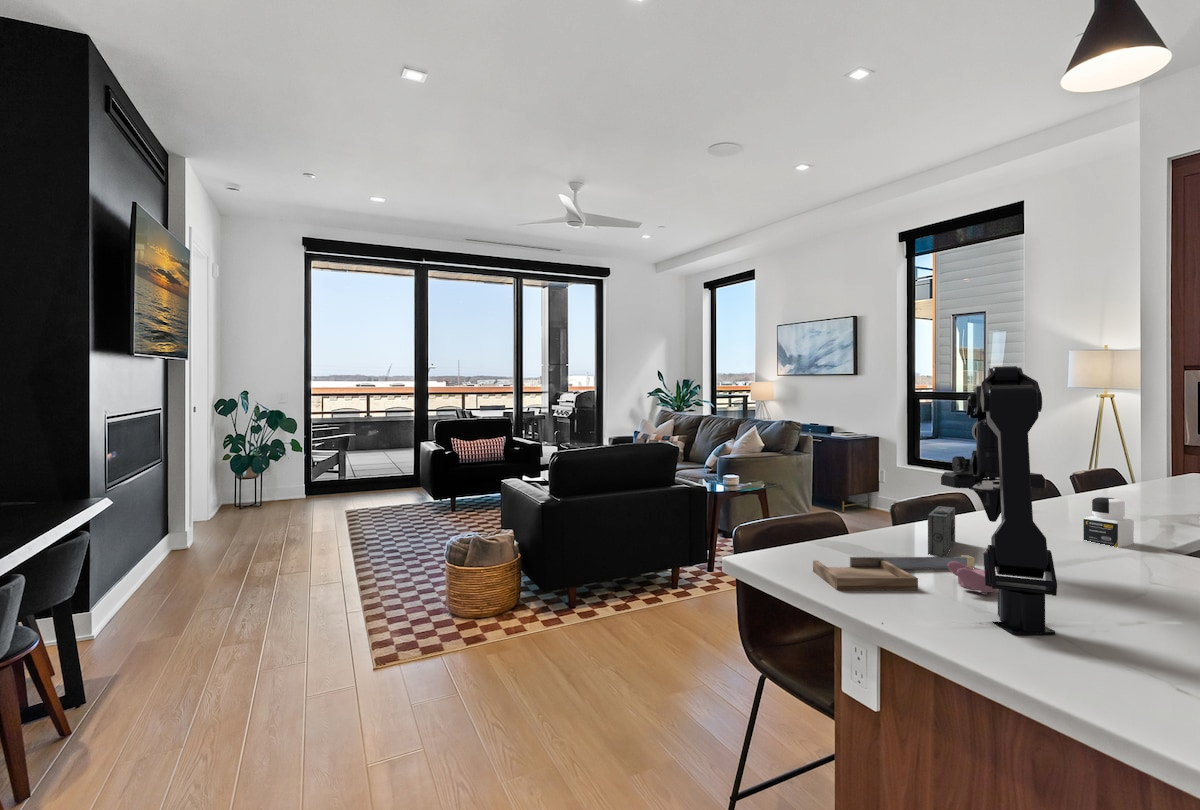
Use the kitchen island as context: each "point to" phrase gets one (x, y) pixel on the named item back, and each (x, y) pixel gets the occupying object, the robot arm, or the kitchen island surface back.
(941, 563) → the gray metal bar
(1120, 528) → the medicine bottle
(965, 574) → the video game controller
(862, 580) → the brown wooden tray
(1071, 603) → the kitchen island surface
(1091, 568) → the kitchen island surface
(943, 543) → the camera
